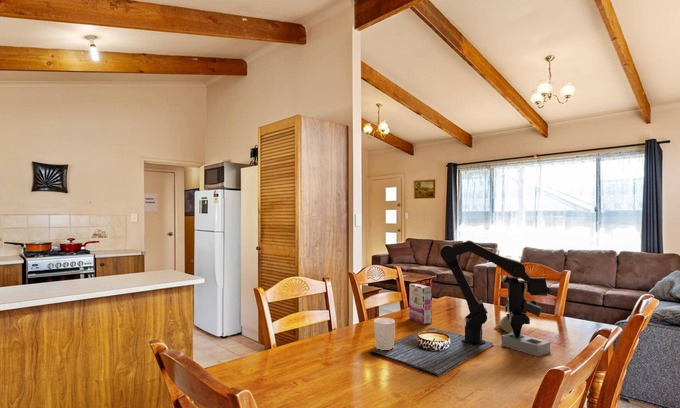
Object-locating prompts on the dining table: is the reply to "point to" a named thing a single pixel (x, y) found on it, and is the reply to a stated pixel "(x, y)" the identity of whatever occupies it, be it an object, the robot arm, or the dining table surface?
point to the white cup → (384, 333)
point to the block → (526, 344)
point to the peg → (514, 335)
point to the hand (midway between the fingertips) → (516, 336)
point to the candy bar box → (420, 303)
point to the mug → (504, 325)
